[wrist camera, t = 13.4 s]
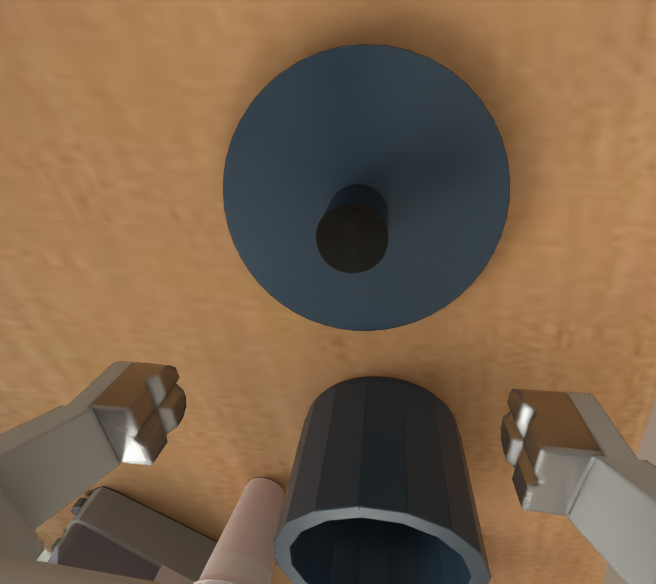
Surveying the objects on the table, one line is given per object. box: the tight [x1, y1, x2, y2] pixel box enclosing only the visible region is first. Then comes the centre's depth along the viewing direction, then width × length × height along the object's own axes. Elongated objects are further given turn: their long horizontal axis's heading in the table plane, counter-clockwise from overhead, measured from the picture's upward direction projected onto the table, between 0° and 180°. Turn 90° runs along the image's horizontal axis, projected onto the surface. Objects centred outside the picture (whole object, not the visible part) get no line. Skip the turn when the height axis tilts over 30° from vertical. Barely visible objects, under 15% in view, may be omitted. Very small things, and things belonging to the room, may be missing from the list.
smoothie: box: [193, 478, 284, 584], centre depth 28 cm, size 6×6×14 cm
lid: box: [223, 44, 510, 331], centre depth 18 cm, size 15×15×5 cm
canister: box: [274, 377, 491, 584], centre depth 24 cm, size 12×12×10 cm
